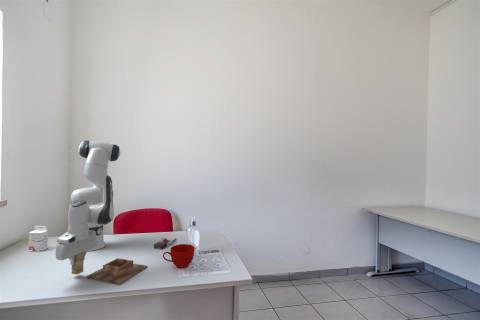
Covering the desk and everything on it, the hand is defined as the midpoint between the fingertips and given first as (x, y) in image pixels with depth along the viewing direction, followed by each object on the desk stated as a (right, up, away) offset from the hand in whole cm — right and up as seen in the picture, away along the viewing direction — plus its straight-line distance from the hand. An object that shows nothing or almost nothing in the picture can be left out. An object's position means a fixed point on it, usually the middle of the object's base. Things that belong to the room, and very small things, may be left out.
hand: (77, 262), depth 129 cm
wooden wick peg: (0, -5, 0) cm, 5 cm away
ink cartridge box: (-46, -6, +34) cm, 57 cm away
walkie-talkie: (+29, -8, +49) cm, 58 cm away
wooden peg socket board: (+18, -7, +5) cm, 20 cm away
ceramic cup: (+47, -8, +14) cm, 49 cm away
